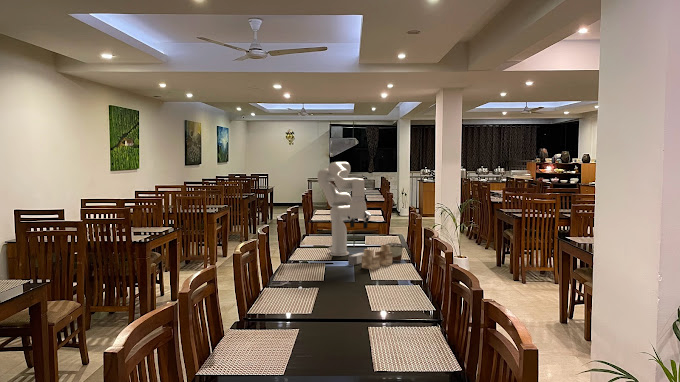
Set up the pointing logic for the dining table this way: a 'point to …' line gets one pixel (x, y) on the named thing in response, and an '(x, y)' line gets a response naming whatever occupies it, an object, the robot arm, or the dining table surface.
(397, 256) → the food container
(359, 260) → the bed rail
